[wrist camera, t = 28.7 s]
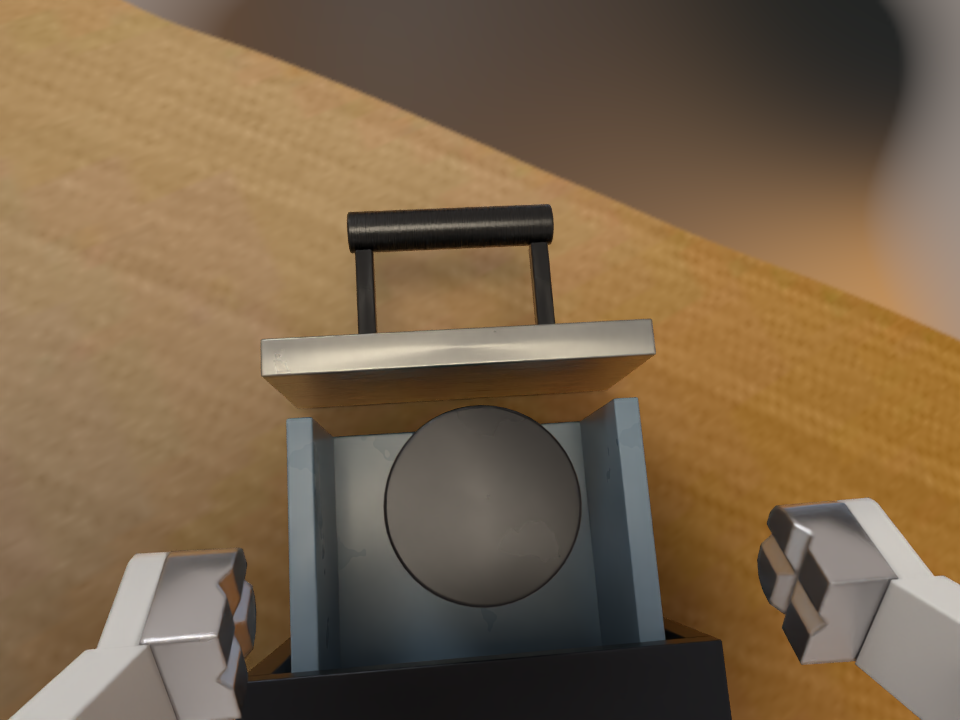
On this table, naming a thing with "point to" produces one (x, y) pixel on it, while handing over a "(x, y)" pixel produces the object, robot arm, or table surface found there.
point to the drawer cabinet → (508, 685)
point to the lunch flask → (482, 506)
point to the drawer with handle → (368, 458)
